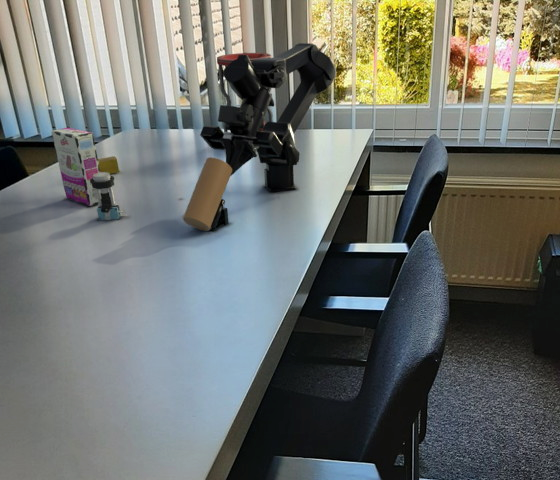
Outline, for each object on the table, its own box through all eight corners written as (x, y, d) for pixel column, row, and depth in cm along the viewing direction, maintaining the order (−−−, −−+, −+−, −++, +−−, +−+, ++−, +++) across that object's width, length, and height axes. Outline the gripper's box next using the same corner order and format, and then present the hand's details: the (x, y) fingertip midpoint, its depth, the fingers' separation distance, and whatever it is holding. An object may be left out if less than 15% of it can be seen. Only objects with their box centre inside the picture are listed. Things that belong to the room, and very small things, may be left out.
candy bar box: (107, 201, 153) (94, 132, 143) (90, 207, 150) (75, 136, 140) (82, 193, 159) (68, 126, 150) (65, 198, 156) (49, 130, 147)
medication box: (76, 180, 169) (73, 166, 167) (74, 177, 171) (71, 162, 168) (119, 172, 173) (117, 158, 171) (117, 169, 175) (114, 155, 172)
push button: (129, 213, 145) (121, 170, 139) (124, 221, 140) (116, 177, 135) (100, 214, 145) (92, 171, 139) (95, 222, 140) (86, 178, 135)
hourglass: (274, 149, 188) (270, 58, 174) (221, 151, 189) (213, 60, 175) (275, 137, 202) (272, 51, 188) (226, 139, 202) (219, 53, 188)
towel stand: (208, 220, 139) (205, 195, 136) (228, 223, 136) (226, 198, 133) (194, 227, 135) (191, 202, 132) (215, 231, 133) (212, 206, 130)
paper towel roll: (218, 214, 142) (212, 151, 134) (239, 218, 139) (235, 154, 132) (179, 234, 132) (171, 167, 124) (202, 239, 129) (195, 170, 122)
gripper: (200, 86, 135) (175, 150, 133) (273, 90, 127) (247, 159, 125) (224, 117, 145) (200, 177, 143) (293, 123, 137) (269, 187, 135)
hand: (227, 175), depth 136 cm, fingers closed
